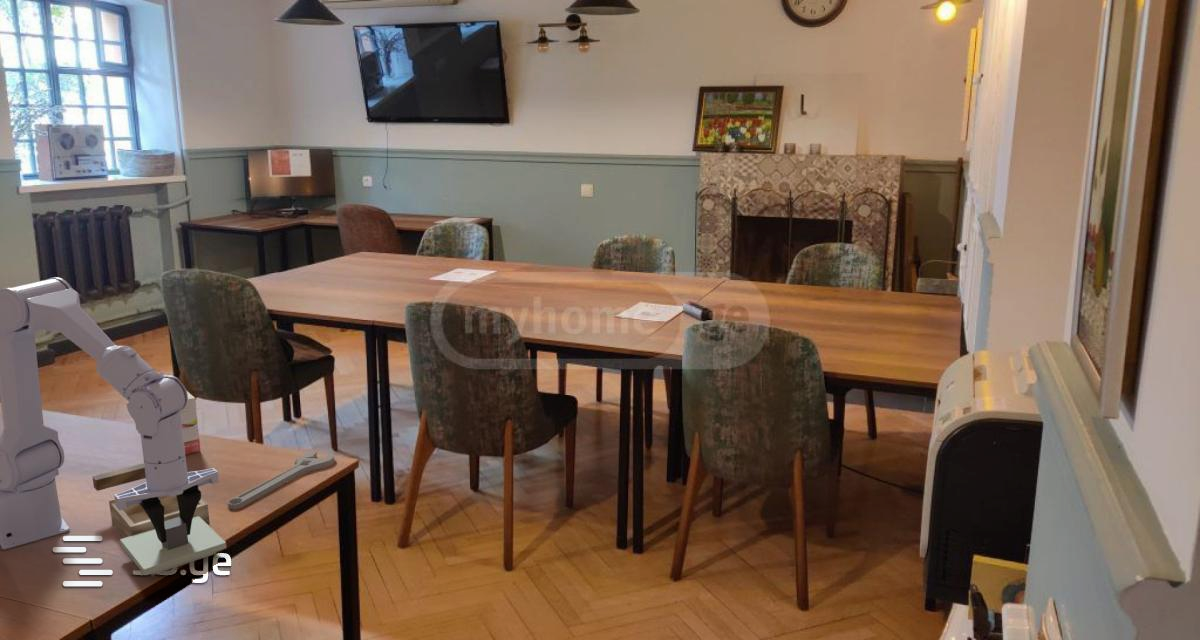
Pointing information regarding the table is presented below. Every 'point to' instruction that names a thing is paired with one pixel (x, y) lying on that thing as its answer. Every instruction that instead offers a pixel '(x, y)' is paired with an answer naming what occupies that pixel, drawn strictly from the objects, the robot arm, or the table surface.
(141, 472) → the brown rectangular block
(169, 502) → the open wooden tray
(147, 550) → the lid
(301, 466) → the adjustable wrench
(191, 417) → the ink cartridge box
